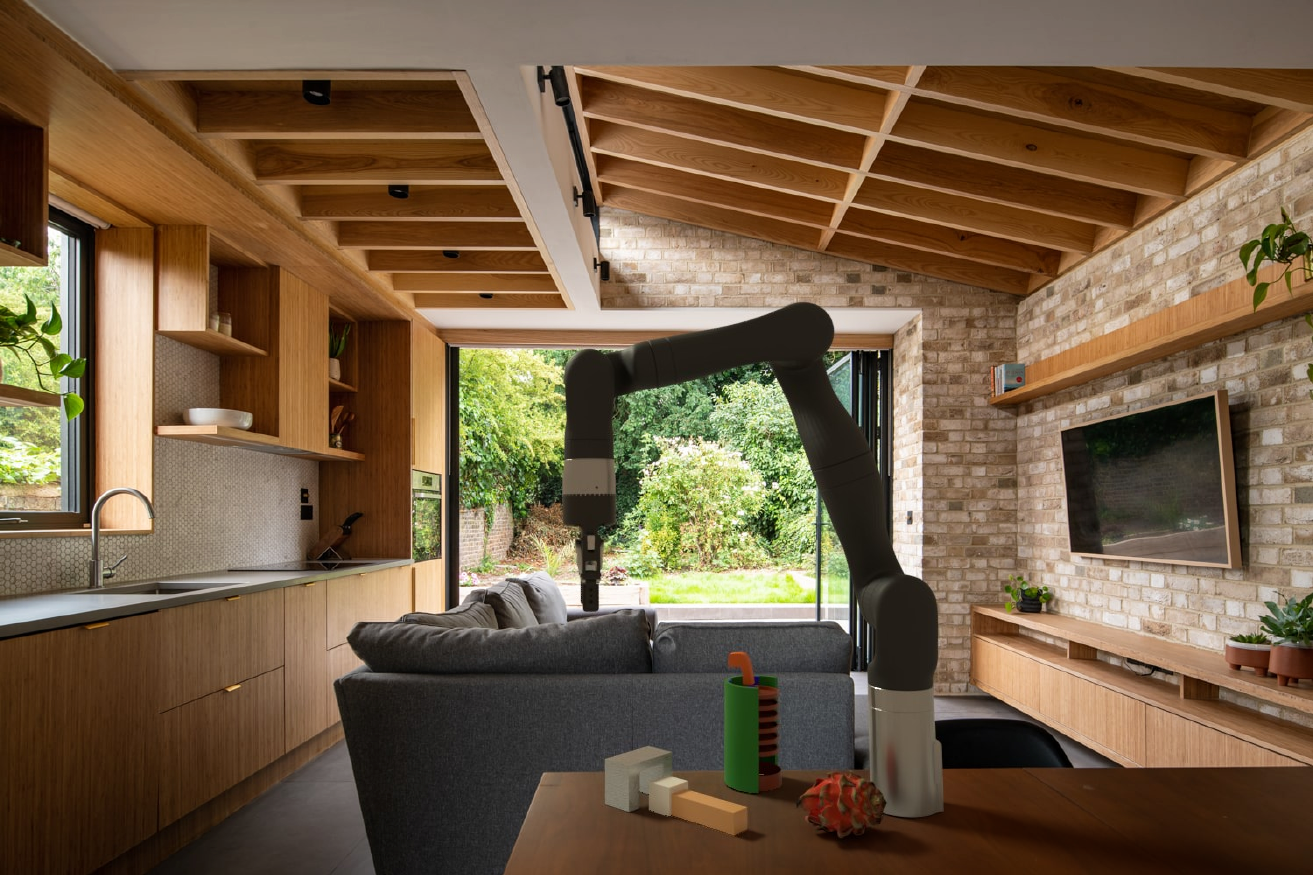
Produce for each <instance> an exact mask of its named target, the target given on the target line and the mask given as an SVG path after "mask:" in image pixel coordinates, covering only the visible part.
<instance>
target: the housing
mask: <svg viewBox="0 0 1313 875" xmlns="http://www.w3.org/2000/svg"><path fill="white" fill-rule="evenodd" d="M667 775H669V776H672V777H673V751H670V750H665V749H662V748H659V747H654V746H650V745H647V746H643V747H640V748H637V749H633V750H630V751H627V752H624V753H621V754H620V753H619V754H617V755H614V756H611V757H608V758H604V804H605V805H608V806H611V807H613V808H615V809H618V810H622V811H625V812H626V813H627V812H628V813H630V812H633V811H636V810H639V809H640V795H639V794H640V793H642V792H643V794H645V795H648V794H649V781H652V780H655V779H658V778H661V777H664V776H667ZM639 791H640V792H639Z"/></svg>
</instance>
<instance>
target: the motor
mask: <svg viewBox="0 0 1313 875" xmlns="http://www.w3.org/2000/svg"><path fill="white" fill-rule="evenodd" d="M728 668H740V669H741V672H742V675H735V676H730V677H727V678H725V679H724V682H723V684H724V689H723V690H724V692H723V693H724V696H723V697H724V703H723V704H724V708H723V709H724V721H723V723H724V724H723V725H724V726H723V727H724V734H723V735H724V739H723V740H724V742H723V744H724V748H723V750H724V751H723V752H724V754H723V755H724V758H723V760H724V767H723V768H724V770H723V771H724V773H723V774H724V775H723V776H724V779H723V780H724V781H725V783H726V784H727V785H728V786H729V787H732V788H735V789H737V790H740V791H744V792H749V793H748V794H751V793H759V792H769V791H768V790H770V791H774V790H773V789H775V790H777V789H776V788H778V789H779V788H781V787H782V784H783V783H782V781H783V780H782V778H783V777H782V776H783V774H782V770H783V769H782V767H781V766H780V765H779V758H778V757H779V753H780V745H779V742H780V734H779V731H780V723H779V722H778V720H779V719H780V712H779V711H778V710H779V708H780V701H779V700H778V697H779V696H780V690H779V689H778V685H779V684H778V683H779V682H778V676H772V675H771V676H770V675H762V674H761V675H759V674H754V669H753V664H752V661H751V658H750V656H749V655H748V654H747V653H746V652H745V651H731V653H729V654H728ZM759 774H764V775H759ZM725 783H724V784H725ZM729 787H728V788H729ZM744 792H743V793H744ZM759 794H760V793H759Z"/></svg>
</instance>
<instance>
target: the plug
mask: <svg viewBox="0 0 1313 875" xmlns="http://www.w3.org/2000/svg"><path fill="white" fill-rule="evenodd" d="M650 810H651V811H650ZM648 811H650V812H653V811H654V812H653V813H656V814H659V815H662V816H665V815H667V816H666V817H668V816H671V815H673V816H676V817H679V818H682V819H684V820H683V821H685V820H688V821H691V822H696V823H699V824H702V825H705V826H707V827H710V828H713V829H717V830H720V831H723V832H726V833H728V834H732V835H736V834H737V833H739V832H741V831H743V830H746V829H748V807H747V806H744V805H742V804H741V805H740V804H738V803H734V802H731V801H727V800H723V799H720V798H717V797H714V796H712V795H707V794H703V793H700V792H698V791H697V792H696V791H693V790H690V789H689V781H688V780H685V779H682V778H679V777H676V776H673V775H672V776H669V775H667V776H664V777H661V778H658V779H655V780H652V781H649V795H648ZM673 816H671V817H673ZM676 817H675V818H676ZM679 818H678V819H679ZM682 819H681V820H682ZM688 821H687V822H688ZM691 822H690V823H691ZM707 827H706V828H707ZM710 828H709V829H710ZM713 829H712V830H713ZM746 831H747V830H746ZM728 834H727V835H728ZM736 836H737V835H736Z"/></svg>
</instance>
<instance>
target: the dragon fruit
mask: <svg viewBox="0 0 1313 875" xmlns="http://www.w3.org/2000/svg"><path fill="white" fill-rule="evenodd" d="M847 773H849V776H848V774H847ZM847 773H844V774H841V773H840V772H838V771H828V772H827V773H826V776H825V777H817V778H816V779H815V782H814V783H813V785H812V787H811V788H810V787H809V789H807V790H806V792H805V793H803V794H802V795H800V797H799V798H798V799H797V801H796V802H795V803H794V804H795V809H796V810H797V809H798V808H799V806H800V809H802V810H803V811H805V812H808V813H809V814H806V815H805V816H804V820H805V822H806V824H808V825H811V826H812V827H813V828H818V829H823V830H825V831H826V832H828V833H830V832H831V833H832V832H836V833H837V834H836V835H837V837H838V838H839V839H843V838H844V837H846V836H849V835H850V834H851V833H852V834H853V835H855V836H861V835H863V834H865V831H866V830H865V828H866V827H870V828H871V827H872V828H876V827H877V826H878V825H880V824H881V822H882V821H883V819H884V817H883V816H884V813H883V811H884V808H885V806H886V803H887V802H886V800H885V799H884V796H883V794H882V793H881V791H880V790H879V789H876V786H875V784H874V783H873V782H872V781H870V780H867V779H865V778H862V777H861V775H859V774H858V773H856V772H855V771H853V770H847Z"/></svg>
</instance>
